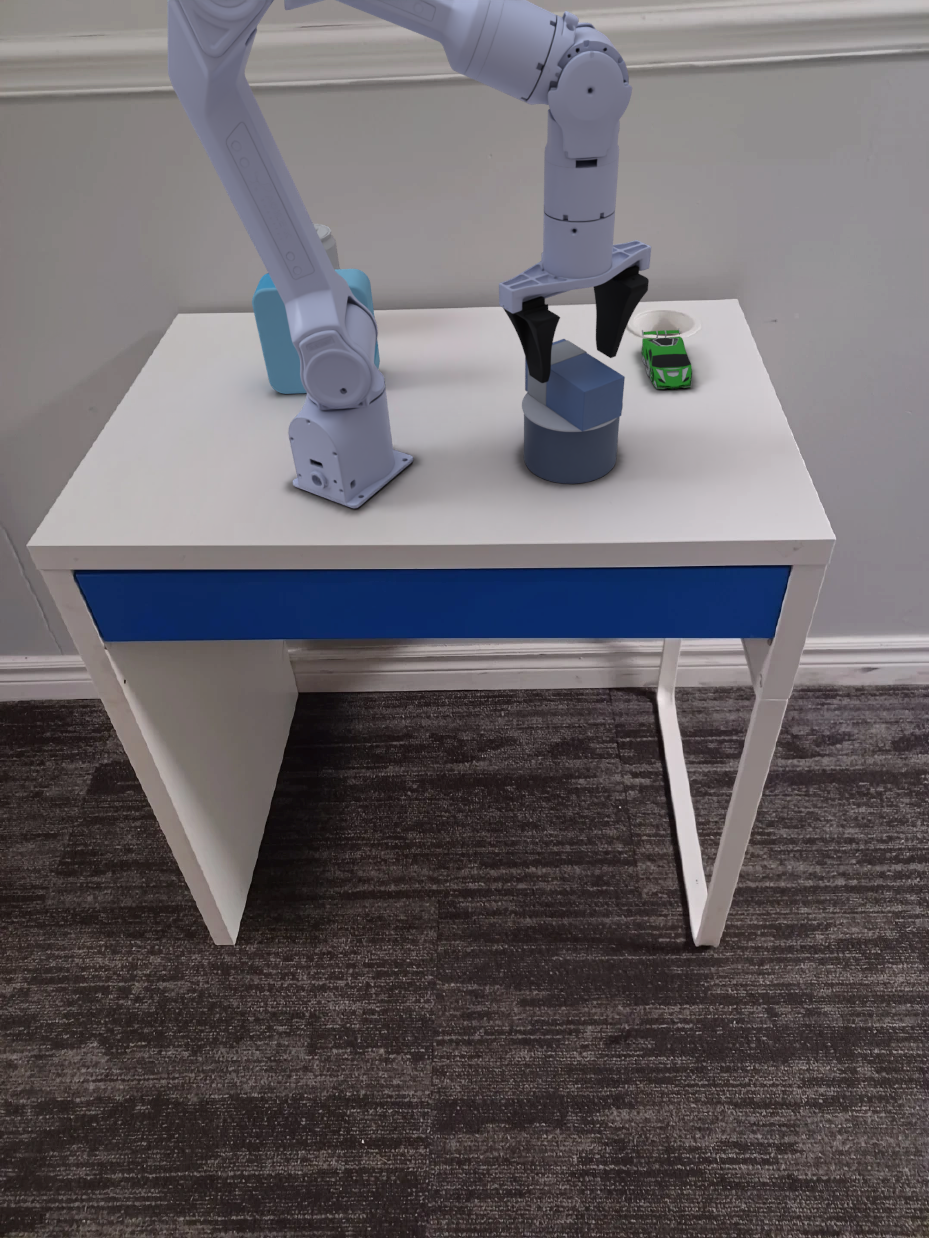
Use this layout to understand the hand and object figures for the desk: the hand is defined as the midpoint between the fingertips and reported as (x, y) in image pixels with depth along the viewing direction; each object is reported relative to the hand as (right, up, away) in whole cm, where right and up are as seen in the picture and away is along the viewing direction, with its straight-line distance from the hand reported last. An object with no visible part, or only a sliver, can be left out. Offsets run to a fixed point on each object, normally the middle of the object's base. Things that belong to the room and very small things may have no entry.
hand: (573, 365), depth 80 cm
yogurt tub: (+1, -7, +7) cm, 10 cm away
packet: (0, -3, +2) cm, 4 cm away
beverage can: (-27, +13, +30) cm, 42 cm away
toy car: (+13, +5, +19) cm, 23 cm away
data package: (-25, +4, +20) cm, 32 cm away
